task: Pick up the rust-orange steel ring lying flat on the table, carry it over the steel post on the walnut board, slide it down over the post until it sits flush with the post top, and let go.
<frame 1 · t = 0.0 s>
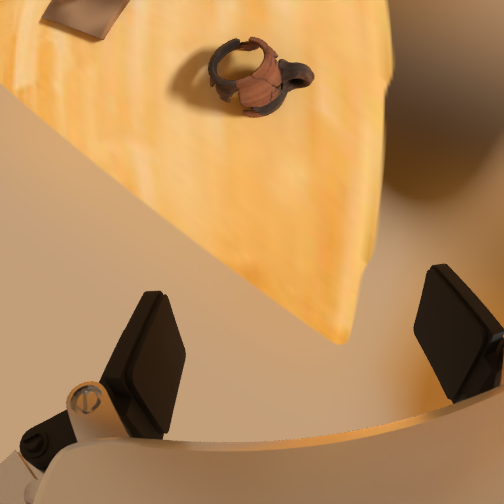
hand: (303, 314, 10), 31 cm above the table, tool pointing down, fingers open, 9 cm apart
pottery mug: (260, 80, 33), on the table
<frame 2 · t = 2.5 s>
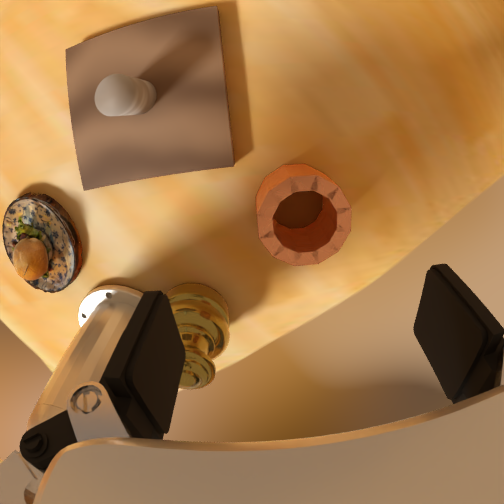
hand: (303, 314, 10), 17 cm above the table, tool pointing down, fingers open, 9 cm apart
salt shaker: (194, 310, 31), on the table, touching arm
ring: (296, 203, 26), on the table
burger: (44, 241, 28), on the table
post stand: (145, 98, 22), on the table
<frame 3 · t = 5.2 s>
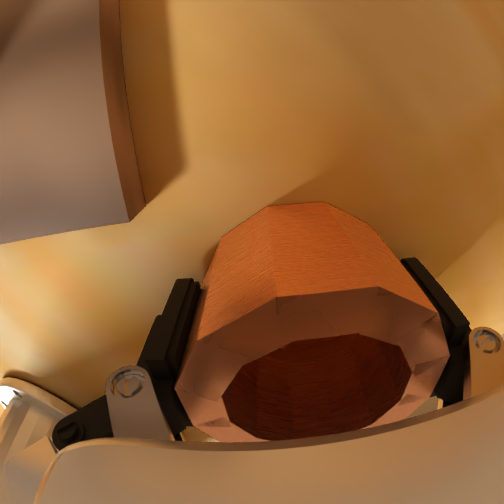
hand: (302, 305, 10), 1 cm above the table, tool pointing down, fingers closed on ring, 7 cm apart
ring: (299, 293, 11), on the table, touching gripper
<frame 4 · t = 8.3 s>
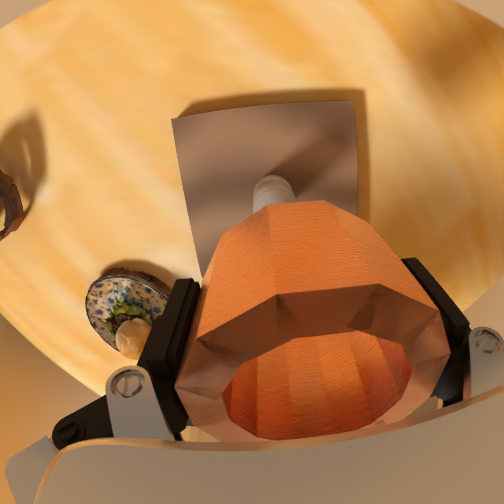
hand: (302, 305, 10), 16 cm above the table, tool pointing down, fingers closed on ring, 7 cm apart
ring: (299, 291, 11), point 15 cm above the table, touching gripper
burger: (137, 312, 31), on the table
post stand: (271, 188, 25), on the table
pottery mug: (1, 200, 25), on the table
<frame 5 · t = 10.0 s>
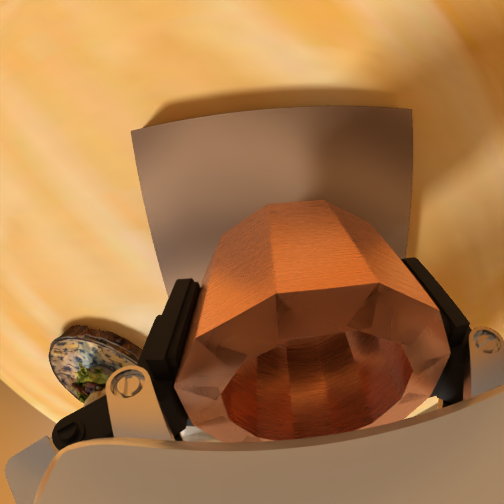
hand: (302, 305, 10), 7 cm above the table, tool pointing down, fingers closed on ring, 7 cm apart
ring: (299, 291, 11), point 6 cm above the table, touching gripper
burger: (111, 372, 23), on the table
post stand: (283, 235, 17), on the table
when the fingers open (3 cm above the table, at t = 11.6 s): ring drops 1 cm, resting on post stand.
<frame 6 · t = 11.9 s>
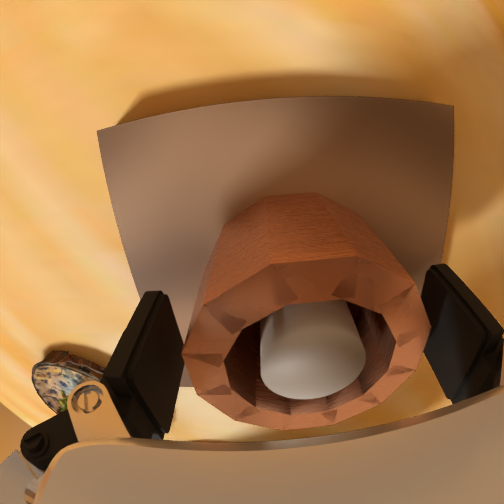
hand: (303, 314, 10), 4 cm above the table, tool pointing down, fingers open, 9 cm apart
ring: (294, 276, 12), point 1 cm above the table, touching post stand
burger: (99, 396, 20), on the table
post stand: (292, 259, 14), on the table
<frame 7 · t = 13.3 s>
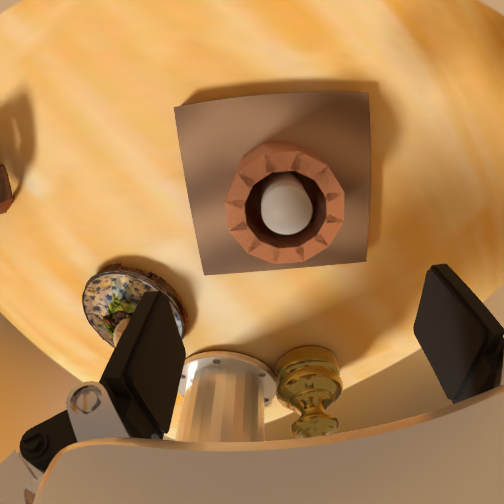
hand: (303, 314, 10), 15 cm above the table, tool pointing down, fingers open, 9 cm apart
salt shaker: (306, 363, 33), on the table
ring: (280, 187, 22), point 1 cm above the table, touching post stand
burger: (136, 309, 30), on the table
post stand: (279, 182, 23), on the table
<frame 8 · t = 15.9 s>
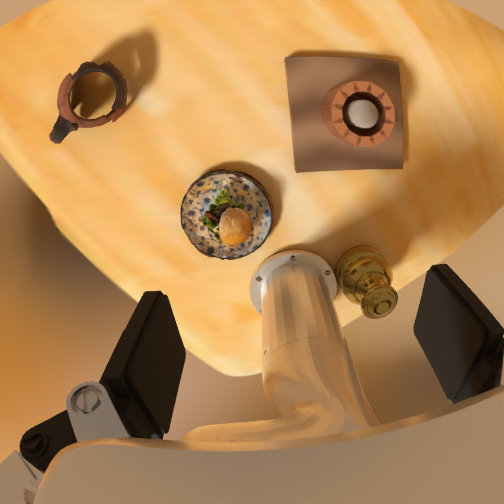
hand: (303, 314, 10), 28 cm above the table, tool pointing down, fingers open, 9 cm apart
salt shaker: (359, 266, 42), on the table
ring: (350, 113, 31), point 1 cm above the table, touching post stand
burger: (227, 213, 39), on the table
post stand: (346, 112, 32), on the table
pottery mug: (94, 102, 31), on the table
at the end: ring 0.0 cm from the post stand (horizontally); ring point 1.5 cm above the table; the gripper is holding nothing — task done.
